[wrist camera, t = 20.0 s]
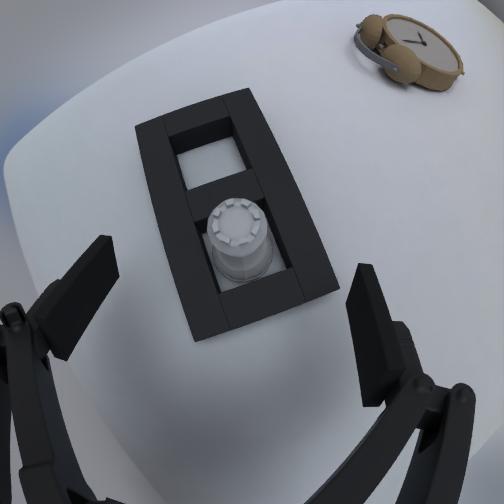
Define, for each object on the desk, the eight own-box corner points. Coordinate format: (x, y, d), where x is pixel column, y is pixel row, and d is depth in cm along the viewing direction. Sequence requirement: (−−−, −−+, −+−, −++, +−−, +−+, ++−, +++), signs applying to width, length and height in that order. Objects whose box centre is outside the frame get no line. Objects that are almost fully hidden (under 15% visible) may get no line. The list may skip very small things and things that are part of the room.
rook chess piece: (276, 278, 23) (285, 257, 15) (217, 286, 23) (196, 269, 15) (268, 221, 24) (272, 176, 16) (210, 229, 24) (190, 187, 16)
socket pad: (202, 339, 22) (194, 342, 19) (145, 143, 26) (134, 126, 23) (330, 292, 23) (340, 288, 20) (249, 107, 27) (249, 87, 24)
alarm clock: (479, 78, 25) (399, 61, 21) (458, 100, 30) (377, 93, 26) (429, 20, 27) (343, -2, 24) (414, 42, 32) (330, 29, 29)
